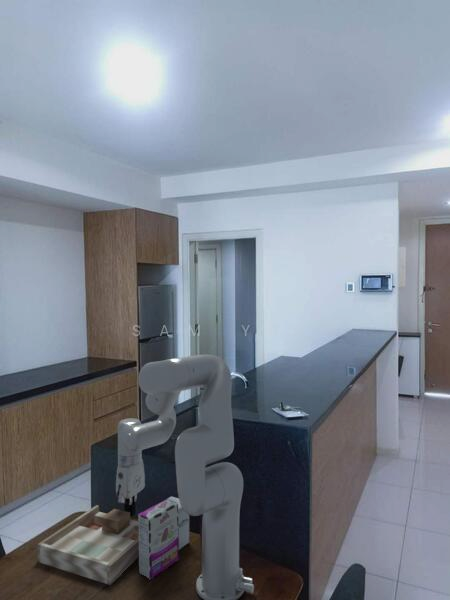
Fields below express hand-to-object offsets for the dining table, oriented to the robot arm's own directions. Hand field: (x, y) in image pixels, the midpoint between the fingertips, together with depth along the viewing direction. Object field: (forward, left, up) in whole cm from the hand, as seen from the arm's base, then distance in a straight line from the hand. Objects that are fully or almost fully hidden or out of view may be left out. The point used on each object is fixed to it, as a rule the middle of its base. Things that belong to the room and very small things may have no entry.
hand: (129, 514), depth 144 cm
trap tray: (0, +14, -4) cm, 14 cm away
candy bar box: (-20, +15, -4) cm, 25 cm away
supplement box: (-18, +4, -4) cm, 19 cm away
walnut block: (0, +7, -1) cm, 7 cm away
